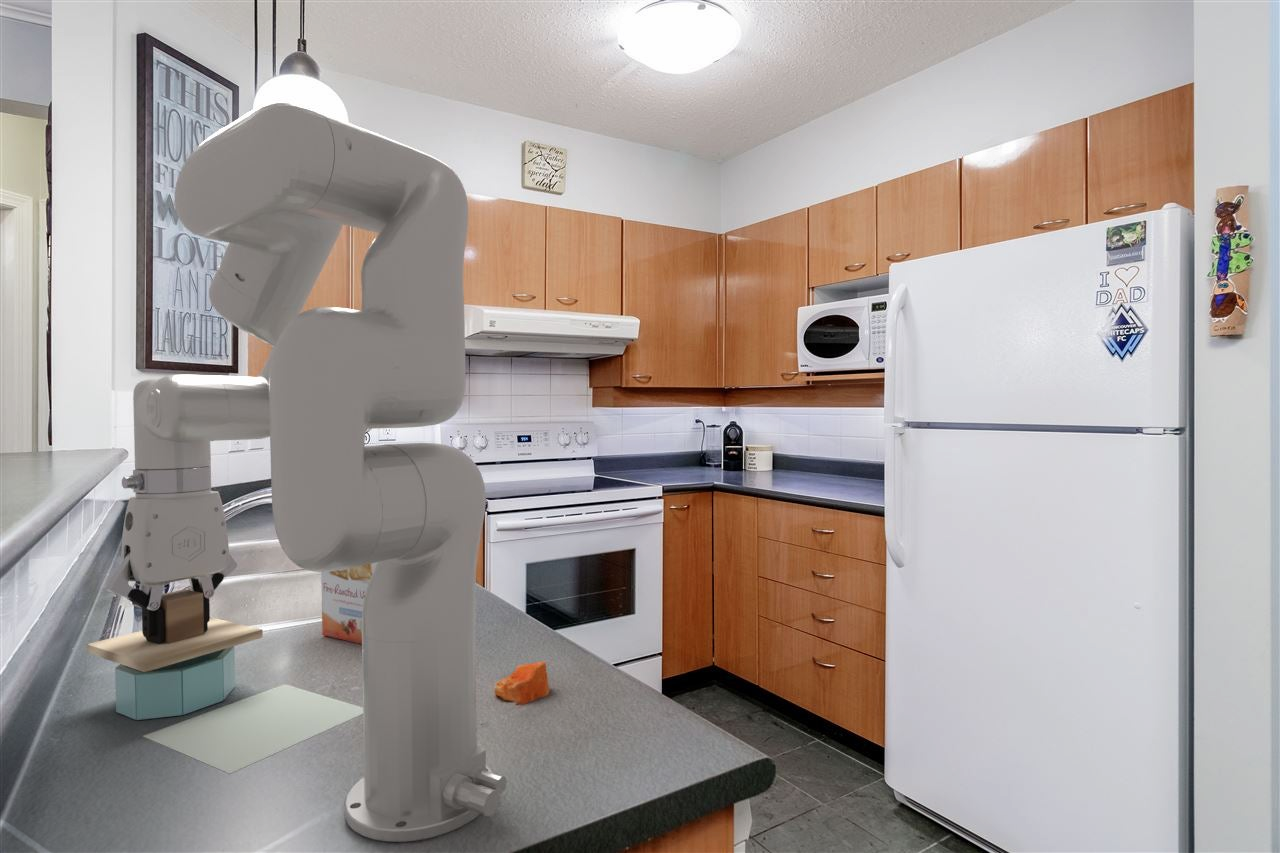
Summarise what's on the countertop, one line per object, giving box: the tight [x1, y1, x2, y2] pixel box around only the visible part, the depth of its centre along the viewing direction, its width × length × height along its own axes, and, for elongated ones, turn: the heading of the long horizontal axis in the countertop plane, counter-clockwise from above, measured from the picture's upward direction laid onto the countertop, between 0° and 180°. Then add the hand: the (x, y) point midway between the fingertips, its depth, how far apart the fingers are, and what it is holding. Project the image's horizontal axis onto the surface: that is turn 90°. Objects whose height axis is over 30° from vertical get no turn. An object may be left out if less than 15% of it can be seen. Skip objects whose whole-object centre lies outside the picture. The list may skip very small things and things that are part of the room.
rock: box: [494, 660, 550, 706], centre depth 85 cm, size 12×12×4 cm
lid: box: [86, 588, 264, 672], centre depth 83 cm, size 13×13×6 cm
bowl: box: [114, 646, 236, 721], centre depth 83 cm, size 11×11×6 cm
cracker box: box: [320, 562, 378, 645], centre depth 106 cm, size 14×6×21 cm, turn 62°
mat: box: [142, 683, 363, 775], centre depth 76 cm, size 16×16×1 cm
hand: (177, 634), depth 83 cm, fingers closed on lid, 4 cm apart
